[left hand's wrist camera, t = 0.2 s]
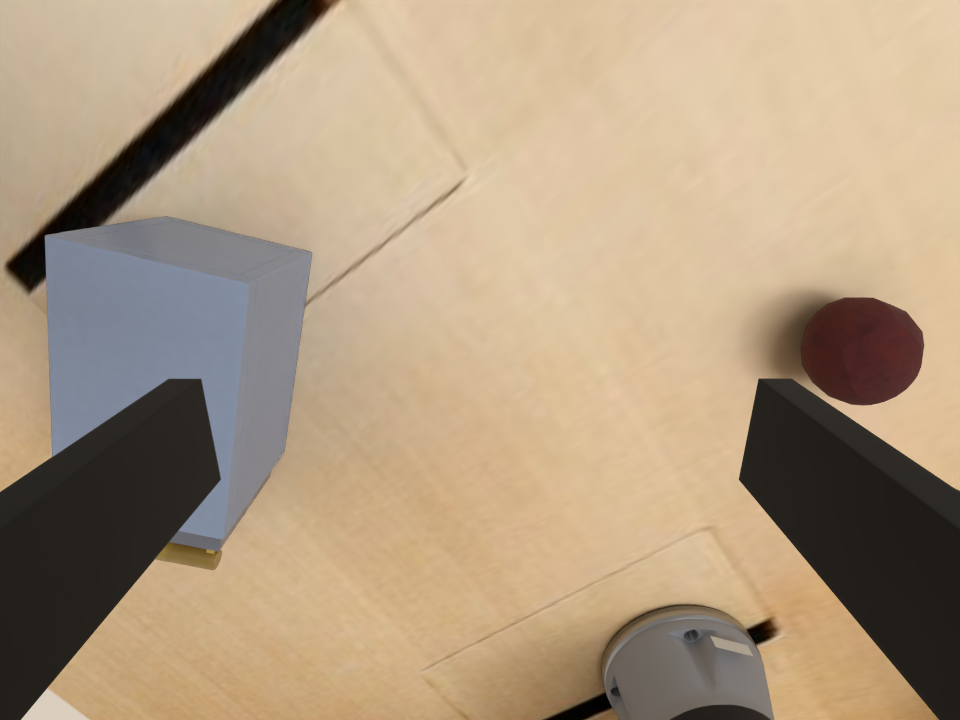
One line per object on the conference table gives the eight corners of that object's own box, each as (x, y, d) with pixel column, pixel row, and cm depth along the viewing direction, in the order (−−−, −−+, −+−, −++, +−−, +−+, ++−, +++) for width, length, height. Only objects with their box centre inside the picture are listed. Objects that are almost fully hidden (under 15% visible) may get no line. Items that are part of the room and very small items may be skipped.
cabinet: (284, 451, 44) (223, 540, 34) (157, 424, 44) (53, 506, 33) (312, 252, 39) (249, 283, 28) (166, 215, 38) (43, 234, 27)
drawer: (263, 525, 46) (213, 609, 37) (154, 503, 45) (76, 583, 36) (294, 296, 39) (240, 333, 30) (164, 265, 38) (71, 294, 29)
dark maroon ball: (803, 396, 43) (862, 439, 36) (764, 320, 40) (820, 350, 34) (891, 349, 41) (970, 383, 35) (857, 267, 39) (934, 287, 32)
